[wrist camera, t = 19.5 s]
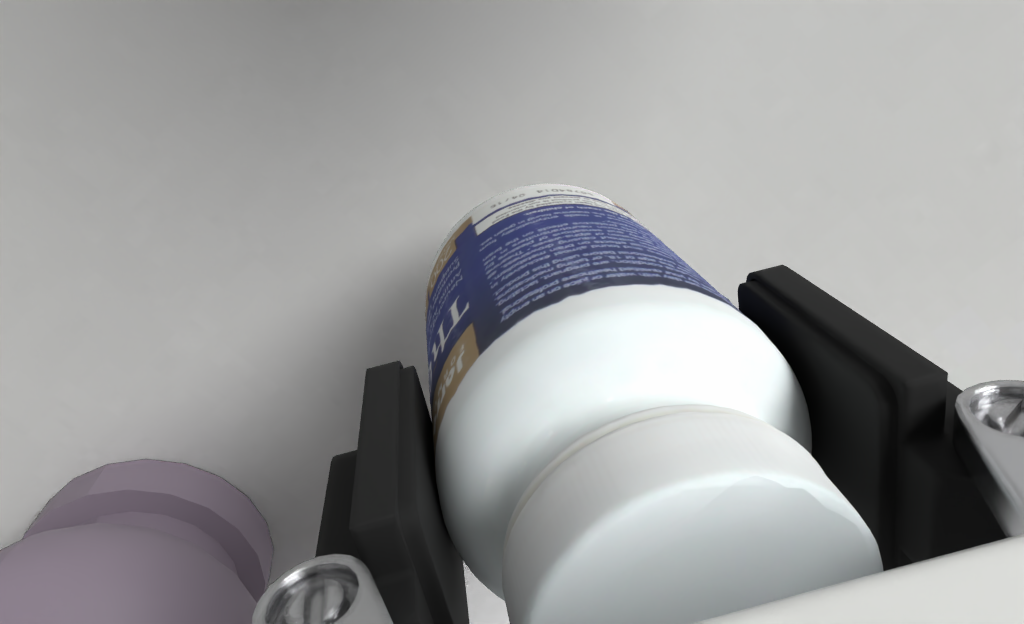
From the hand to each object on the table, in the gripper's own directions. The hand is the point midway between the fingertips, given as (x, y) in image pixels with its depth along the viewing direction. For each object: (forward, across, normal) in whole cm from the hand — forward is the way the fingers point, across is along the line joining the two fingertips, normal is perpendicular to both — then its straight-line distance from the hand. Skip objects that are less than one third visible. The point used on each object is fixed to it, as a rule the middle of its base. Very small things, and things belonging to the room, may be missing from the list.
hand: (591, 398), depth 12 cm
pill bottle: (+5, 0, 0) cm, 5 cm away
